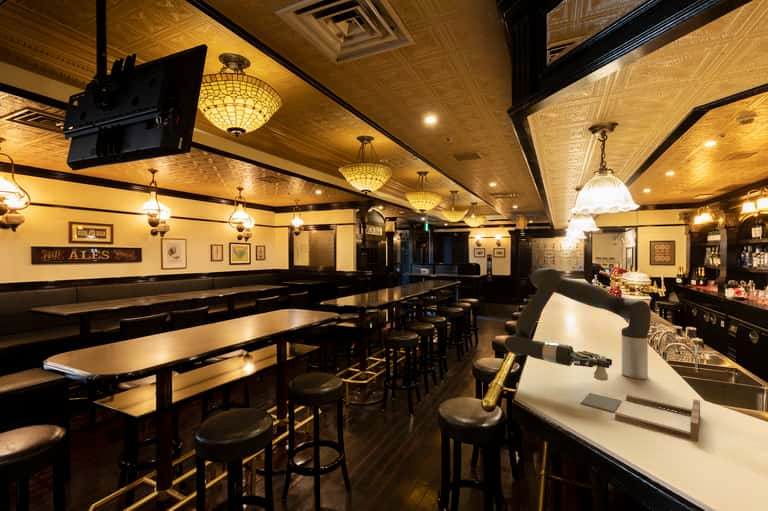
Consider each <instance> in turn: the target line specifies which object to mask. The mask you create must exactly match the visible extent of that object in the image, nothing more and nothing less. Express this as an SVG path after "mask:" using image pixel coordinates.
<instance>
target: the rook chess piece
mask: <svg viewBox="0 0 768 511" xmlns="http://www.w3.org/2000/svg"><path fill="white" fill-rule="evenodd" d="M598 355H599V357H598ZM598 355H597V357H596V359H598V360H603V361H606V359H605V358H606V356H605V355H600V354H598ZM608 377H609V375H608V372H607V370H606V368H604V367H599V366H597V365H596V369H595V371H594V373H593V378H594V379H595V380H598V381H603V382H605V381H608V380H609V378H608Z"/></svg>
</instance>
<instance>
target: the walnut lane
mask: <svg viewBox="0 0 768 511" xmlns="http://www.w3.org/2000/svg"><path fill="white" fill-rule="evenodd" d="M625 398H626V399H625V400H626V401H628V402H632V403H637V404H640V405H645V406H649V405H650V407H653V406H655V407H654V408H657V407H661V408H660V409H662V408H665V409H664V410H666V409H669V410H668V411H670V410H674V411H677V412H676V413H678V412H681V413H680V414H682V413H684V415H687V414H689V415H688V416H690V421H689V423H690V424H689V425H690V426H689V427H690V431H688V430H684V429H681V428H676V427H672V426H669V425H665V424H662V423H659V422H654V421H649V420H647V419H644V418H643V419H642V418H639V417H635V416H631V415H628V414H623V413H620V412H616V411H615V414H614V419H615V420H618V421H623V422H625V423H629V424H632V425H633V424H634V425H636V426H637V425H638V426H641V427H644V428H648V429H652V430H655V431H659V432H662V433H665V434H669V435H673V436H676V437H679V438H684V439H687V440H690V441H695V442H699V435H700V434H699V433H700V425H701V424H700V422H701V400H698V399H695V398H694V399H693V400H692V405H691V406H692V407H691V408H692V409H691V408H688V407H687V408H686V407H683V406H679V405H678V406H677V405H673V404H669V403H665V402H661V401H656V400H652V399H647V398H644V397H640V396H639V397H638V396H635V395H630V394H626V396H625ZM674 411H673V412H674Z"/></svg>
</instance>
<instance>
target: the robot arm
mask: <svg viewBox="0 0 768 511" xmlns="http://www.w3.org/2000/svg"><path fill="white" fill-rule="evenodd" d="M530 282H531V284H532V285H533V286H534V288H536V291H535V293H534V295H533V296H532V298H531V299H530V301H528V303H527V304H526V305H525V306H524V308H523V309H521V310H522V311H521V312H520V314H519V316H518V318H517V320H516V321H515V322H516V323H515V325H514V329H515V334H514V335H510V336H509V335H508V337H506V338H505V339H504V342H503V344H504V347H505V349H506V351H508V352H509V353H511V354H513V355H515V356H518V357H520V356H523V355H524V356H525V355H526V356H528V357H531V358H534V359H536V360H542V361H546V362H548V363H553V364H556V365H557V364H558V365H561V366H567V367H571V366H572V365H573V366H578V367H587V368H593V367H597V366H599V367H604V368H605V369H609V368H610V367H611V366H612V365H613V359H612V358H608V357H605V359H606V361H603V360H598V359H596V357H597V355H598V357H599V355H600V354H598V353H593V352H589V351H587V350H583V351H582V350H581V351H578V350H577V351H574V347H573V346H571V345H568V344H561V343H556V342H546V341H541V340H533V339H531V337H532V332H533V331H534V330H535V329H534V328H535V327H536V324H537V322H538V320H539V318H540V315H541V314H542V312H543V310H544V309H545V307H546V306H547V304H548V302H549V300H550V299H551V298H552V296H553V295H554V293H555V294H559V295H561V296H563V297H566V298H568V299H571V300H573V301H575V302H578V303H580V304H583V305H586V306H590V307H592V308H596V309H601V310H606V311H608V312H611V313H613V314H614V315H617V316H619V317H620V318H623V319H625V320H628V325H627V326H625V327H622V328H621V374H622V376H626V377H628V378H631V379H638V380H647V379H648V377H649V375H648V374H649V360H648V359H649V349H648V348H649V347H648V346H649V344H648V342H649V341H648V337H649V336H648V335H649V332H650V330H651V321H652V320H651V318H652V315H651V314H652V312H651V307H650V304H648V302H646V301H645V300H641V299H635V298H628V297H627V298H626V297H622V296H618V295H614V294H611V293H610V292H608V291H607V290H606V289H604V288H602V287H600V286H597V285H596V284H592V283H589V282H586V281H581V280H578V279H577V280H575V279H569V278H566V277H565V278H564V277H562V276H561V273H560V272H559V271H558V270H557V269H556V268H551V267H545V268H538V269H536V270H534V271H532V273H531V274H530Z"/></svg>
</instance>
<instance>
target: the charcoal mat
mask: <svg viewBox="0 0 768 511" xmlns="http://www.w3.org/2000/svg"><path fill="white" fill-rule="evenodd" d="M621 403H622V400H621V399H617V398H613V397H609V396H604V395H600V394H597V393H592V392H589V393H588V394H587V395H586V396H585V397H584V398H583V399H582V401H581V402H580V404H581V405H583V406H588V407H590V408H595V409H598V410H602V411H606V412H610V413H613V414H614V413H616V411H617V409H618V408H619V407H620V405H621Z"/></svg>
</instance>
